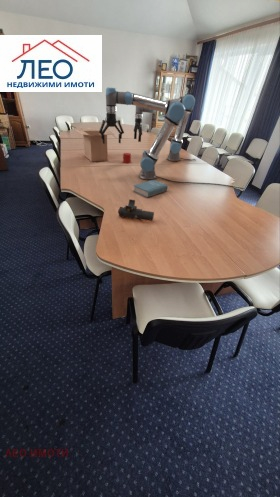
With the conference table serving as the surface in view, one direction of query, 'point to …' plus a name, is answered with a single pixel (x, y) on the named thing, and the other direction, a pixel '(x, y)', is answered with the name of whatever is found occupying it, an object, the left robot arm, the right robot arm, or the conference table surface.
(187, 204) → the conference table surface
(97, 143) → the box
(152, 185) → the book
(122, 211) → the laser sight
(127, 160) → the canister
